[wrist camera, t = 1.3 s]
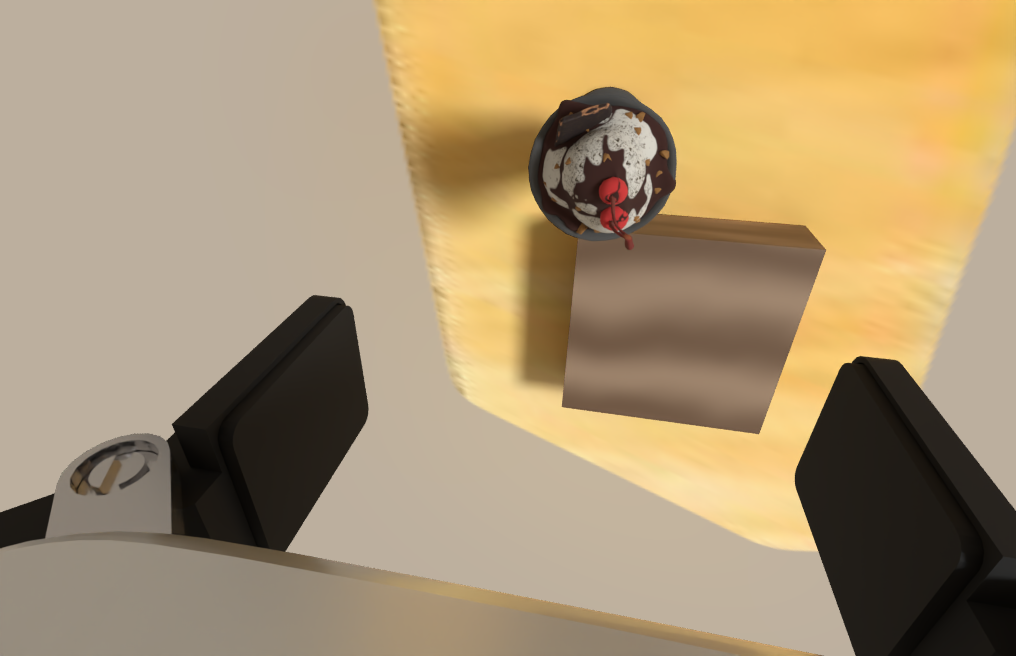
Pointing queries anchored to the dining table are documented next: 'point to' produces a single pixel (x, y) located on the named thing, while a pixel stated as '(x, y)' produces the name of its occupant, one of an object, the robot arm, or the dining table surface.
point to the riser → (688, 319)
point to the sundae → (602, 166)
